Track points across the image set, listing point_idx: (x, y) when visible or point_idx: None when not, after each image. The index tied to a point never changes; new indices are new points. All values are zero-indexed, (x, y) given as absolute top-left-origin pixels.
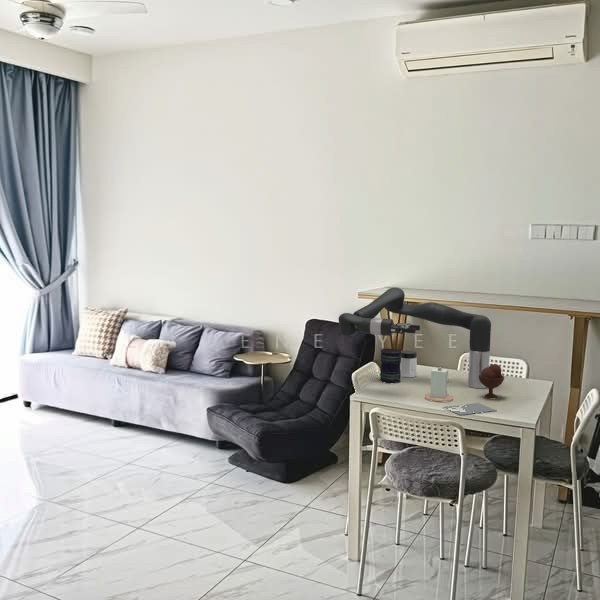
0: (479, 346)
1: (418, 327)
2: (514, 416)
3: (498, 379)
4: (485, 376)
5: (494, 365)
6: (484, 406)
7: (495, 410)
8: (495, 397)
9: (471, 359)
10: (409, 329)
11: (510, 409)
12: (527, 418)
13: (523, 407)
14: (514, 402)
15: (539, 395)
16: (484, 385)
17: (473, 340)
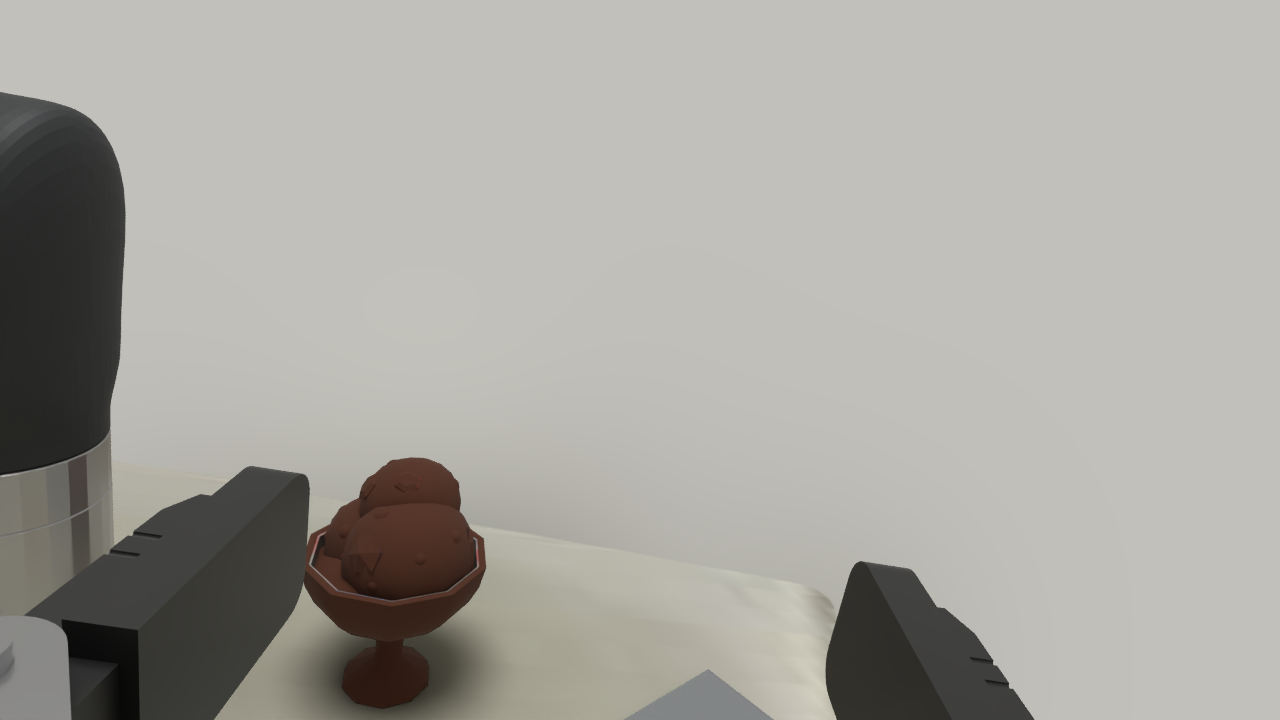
0: (93, 399)
1: (294, 535)
2: (751, 621)
3: (475, 536)
4: (460, 571)
5: (435, 470)
6: (659, 715)
7: (714, 674)
8: (417, 652)
9: (16, 555)
10: (1024, 716)
11: (636, 621)
12: (751, 588)
13: (574, 578)
14: (488, 594)
15: (324, 507)
16: (413, 636)
17: (40, 365)
